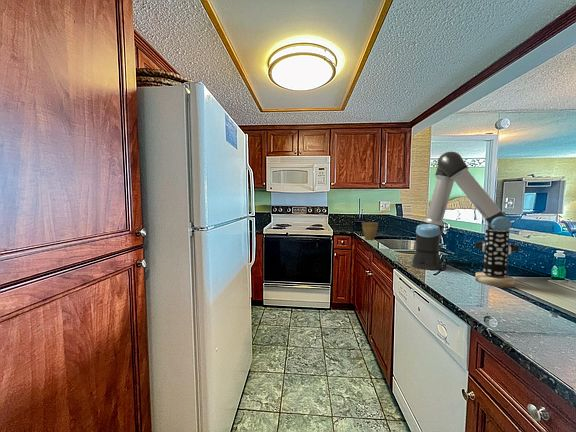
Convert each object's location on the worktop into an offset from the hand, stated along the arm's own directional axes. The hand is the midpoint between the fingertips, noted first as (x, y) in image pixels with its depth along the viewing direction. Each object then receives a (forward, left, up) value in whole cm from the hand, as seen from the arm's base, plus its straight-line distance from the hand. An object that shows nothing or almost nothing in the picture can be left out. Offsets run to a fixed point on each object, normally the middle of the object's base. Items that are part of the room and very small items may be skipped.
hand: (496, 249), depth 113 cm
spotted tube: (-4, +3, -12) cm, 13 cm away
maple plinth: (-4, +3, -16) cm, 16 cm away
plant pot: (-128, -18, -16) cm, 131 cm away
